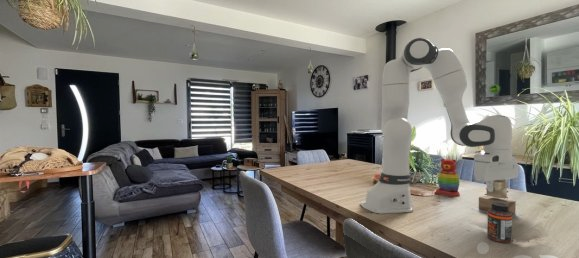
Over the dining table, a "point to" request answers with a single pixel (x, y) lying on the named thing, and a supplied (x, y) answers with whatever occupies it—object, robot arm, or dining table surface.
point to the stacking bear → (448, 179)
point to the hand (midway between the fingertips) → (496, 190)
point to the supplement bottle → (499, 223)
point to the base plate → (487, 212)
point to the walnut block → (486, 201)
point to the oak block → (498, 189)
